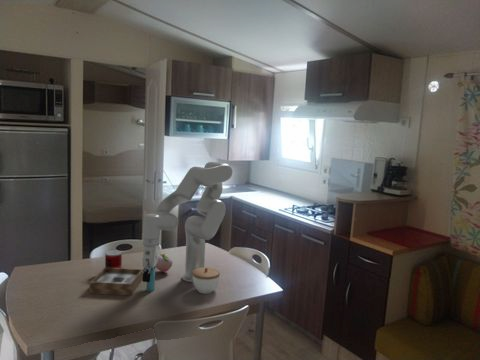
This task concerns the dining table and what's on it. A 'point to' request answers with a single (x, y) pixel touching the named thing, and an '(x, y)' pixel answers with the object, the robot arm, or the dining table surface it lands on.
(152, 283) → the peg
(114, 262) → the canned food
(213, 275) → the lidded bowl
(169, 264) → the decorative fruit
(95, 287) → the bore box
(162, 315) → the dining table surface
